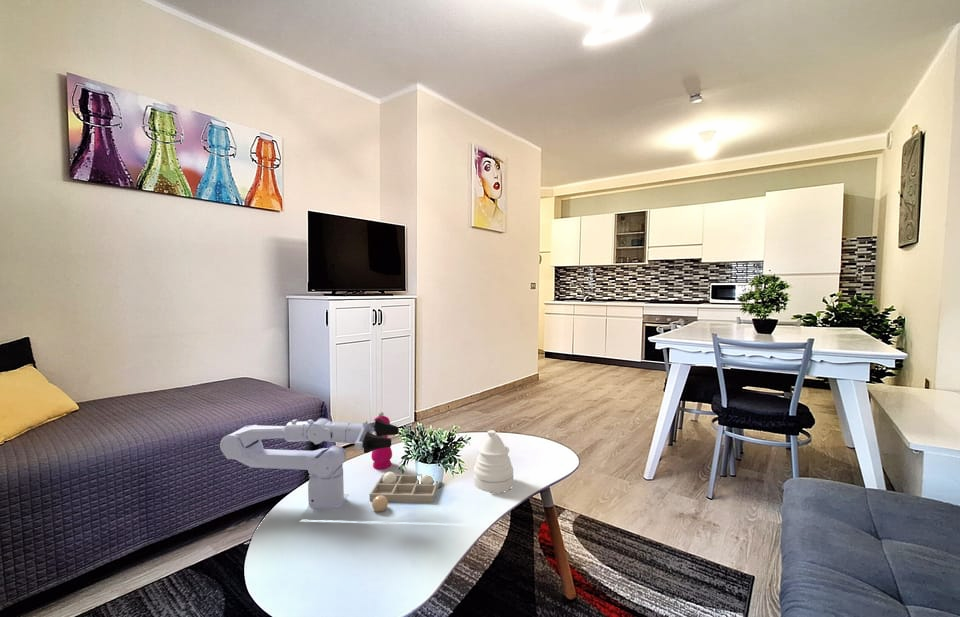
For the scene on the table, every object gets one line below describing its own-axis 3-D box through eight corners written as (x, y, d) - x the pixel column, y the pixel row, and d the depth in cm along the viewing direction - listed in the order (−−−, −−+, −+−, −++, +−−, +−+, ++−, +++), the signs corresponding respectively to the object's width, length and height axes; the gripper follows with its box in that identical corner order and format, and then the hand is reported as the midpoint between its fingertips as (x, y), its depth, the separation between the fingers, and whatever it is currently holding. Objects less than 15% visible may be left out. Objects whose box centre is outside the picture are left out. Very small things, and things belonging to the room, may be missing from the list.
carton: (369, 502, 124) (369, 494, 124) (382, 482, 137) (382, 474, 137) (433, 504, 123) (432, 495, 123) (439, 483, 136) (439, 475, 135)
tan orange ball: (370, 515, 117) (369, 499, 117) (374, 506, 121) (374, 492, 121) (385, 515, 117) (385, 500, 116) (389, 507, 121) (389, 492, 121)
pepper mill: (383, 461, 153) (382, 407, 152) (396, 466, 149) (395, 411, 148) (367, 468, 148) (366, 412, 147) (381, 473, 143) (380, 416, 142)
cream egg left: (380, 488, 131) (380, 475, 131) (384, 482, 135) (384, 469, 135) (394, 489, 131) (394, 475, 131) (398, 482, 135) (398, 469, 135)
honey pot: (507, 496, 127) (507, 438, 126) (468, 490, 131) (467, 434, 130) (517, 478, 139) (517, 425, 138) (481, 473, 143) (480, 421, 142)
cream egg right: (419, 489, 130) (419, 475, 130) (422, 483, 135) (421, 469, 134) (433, 490, 130) (433, 476, 130) (435, 483, 134) (435, 470, 134)
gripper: (339, 431, 115) (387, 435, 114) (358, 410, 129) (401, 413, 128) (339, 455, 116) (387, 459, 115) (358, 431, 130) (401, 434, 129)
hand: (394, 436), depth 121 cm, fingers open, 7 cm apart
